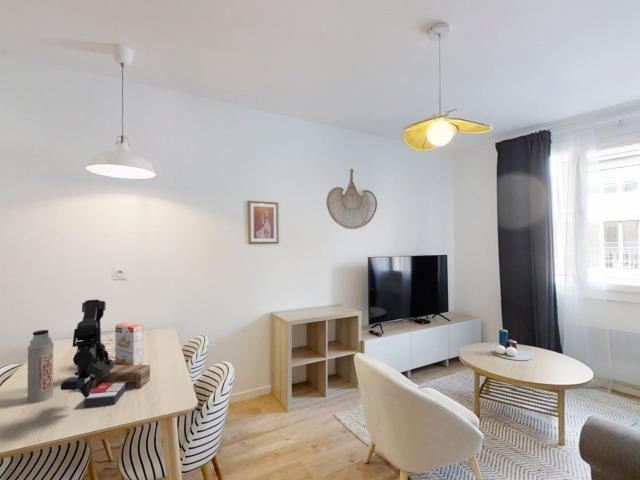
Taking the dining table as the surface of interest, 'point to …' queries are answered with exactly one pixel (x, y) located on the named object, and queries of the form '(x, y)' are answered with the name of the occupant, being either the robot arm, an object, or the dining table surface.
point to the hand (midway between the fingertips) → (86, 397)
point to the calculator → (106, 394)
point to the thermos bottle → (40, 367)
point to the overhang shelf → (126, 375)
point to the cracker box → (129, 344)
